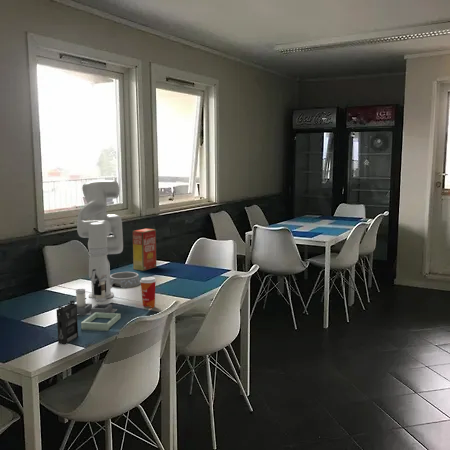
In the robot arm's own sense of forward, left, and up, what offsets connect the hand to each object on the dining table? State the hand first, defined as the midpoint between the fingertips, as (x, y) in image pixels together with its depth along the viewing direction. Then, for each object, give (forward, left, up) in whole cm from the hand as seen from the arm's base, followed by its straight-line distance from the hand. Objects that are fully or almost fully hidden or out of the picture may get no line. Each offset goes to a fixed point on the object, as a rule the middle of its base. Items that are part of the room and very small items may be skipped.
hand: (100, 293), depth 216 cm
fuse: (-14, -16, -13) cm, 25 cm away
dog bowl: (-68, -16, -15) cm, 72 cm away
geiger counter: (+19, -6, -14) cm, 24 cm away
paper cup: (-28, +12, -14) cm, 34 cm away
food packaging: (-107, -17, -14) cm, 109 cm away
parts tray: (0, 0, -14) cm, 14 cm away
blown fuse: (0, 0, -3) cm, 3 cm away
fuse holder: (-14, -11, -14) cm, 23 cm away
